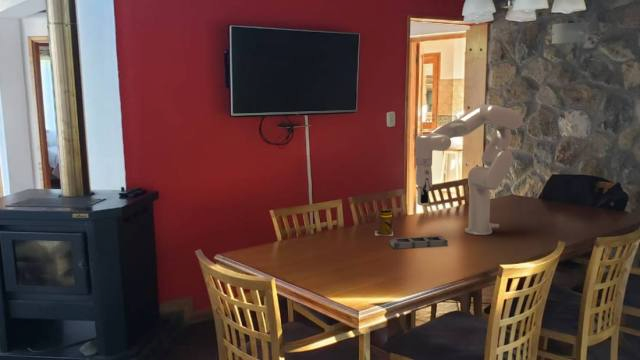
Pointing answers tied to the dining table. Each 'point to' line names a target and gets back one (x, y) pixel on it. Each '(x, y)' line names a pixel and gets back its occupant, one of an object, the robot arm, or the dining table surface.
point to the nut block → (420, 196)
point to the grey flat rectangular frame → (418, 242)
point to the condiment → (385, 223)
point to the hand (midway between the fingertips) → (422, 201)
